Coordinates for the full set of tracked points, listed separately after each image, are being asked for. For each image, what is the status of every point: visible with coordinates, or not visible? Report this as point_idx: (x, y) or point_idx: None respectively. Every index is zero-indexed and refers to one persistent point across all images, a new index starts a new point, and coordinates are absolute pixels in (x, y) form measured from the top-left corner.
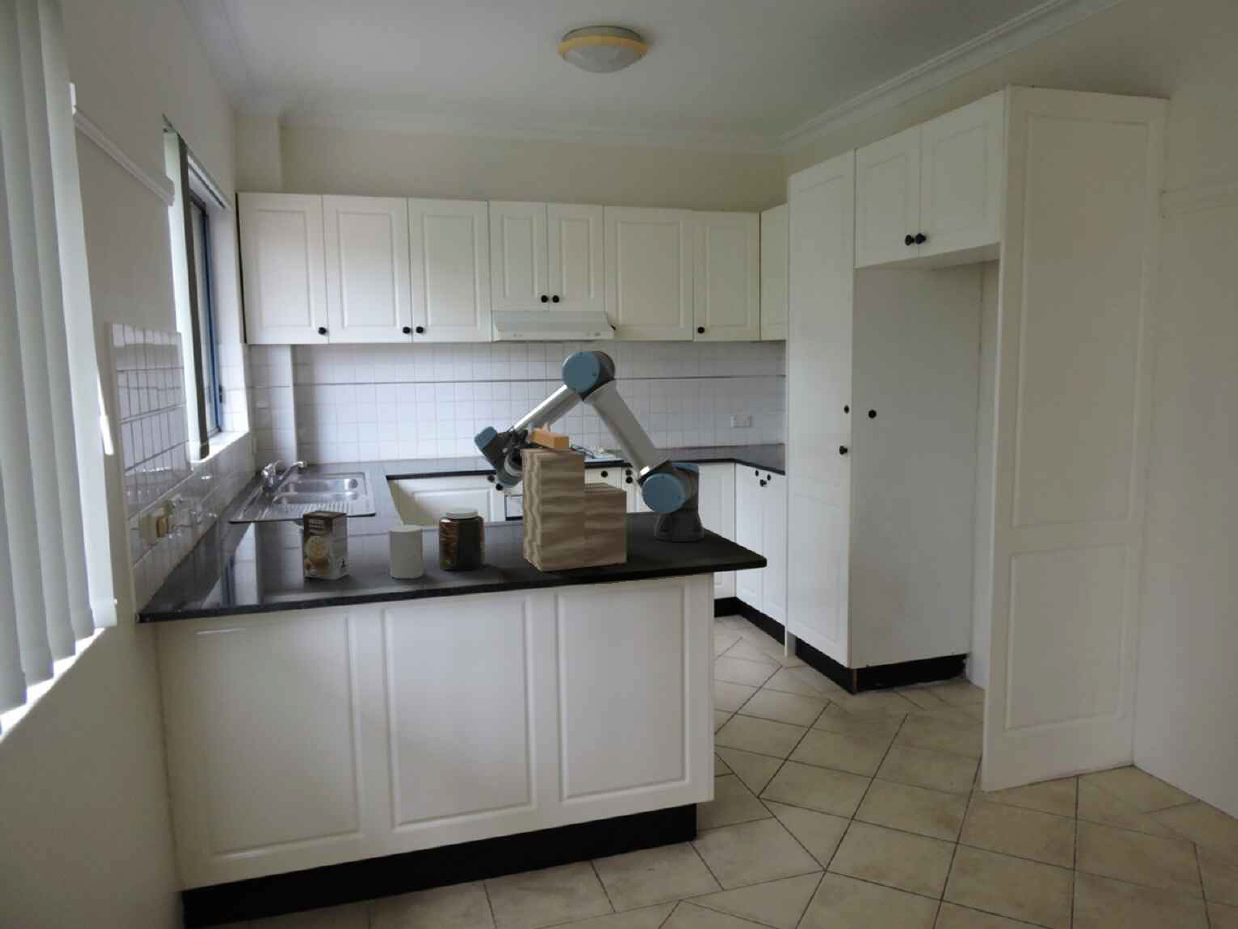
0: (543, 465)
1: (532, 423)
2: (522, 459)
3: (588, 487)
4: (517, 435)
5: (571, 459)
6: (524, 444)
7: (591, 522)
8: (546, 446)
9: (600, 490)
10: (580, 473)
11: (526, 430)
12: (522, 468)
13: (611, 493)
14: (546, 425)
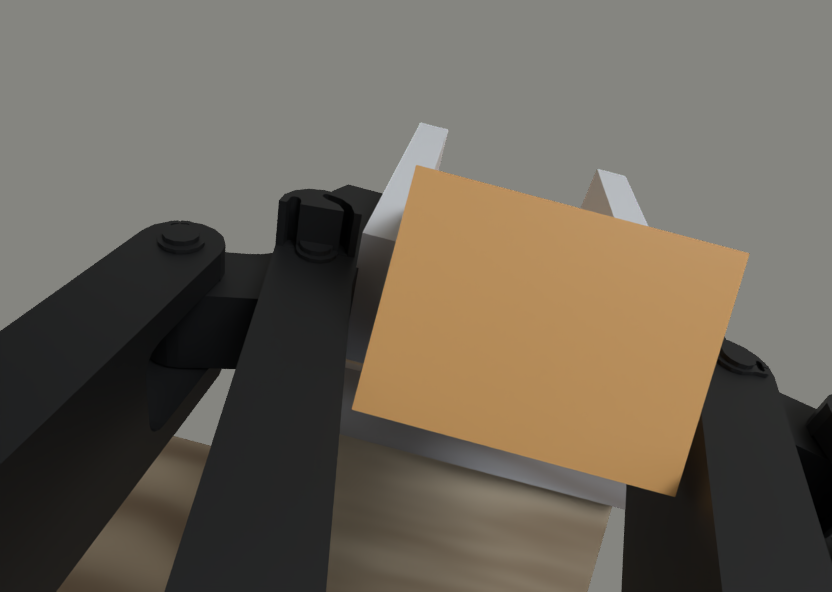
0: None
1: (596, 183)
2: (605, 515)
3: (141, 521)
4: (797, 404)
5: None
6: (629, 562)
7: None
8: (42, 577)
9: (174, 467)
10: None
11: None
12: (585, 589)
13: (178, 441)
14: (437, 169)
